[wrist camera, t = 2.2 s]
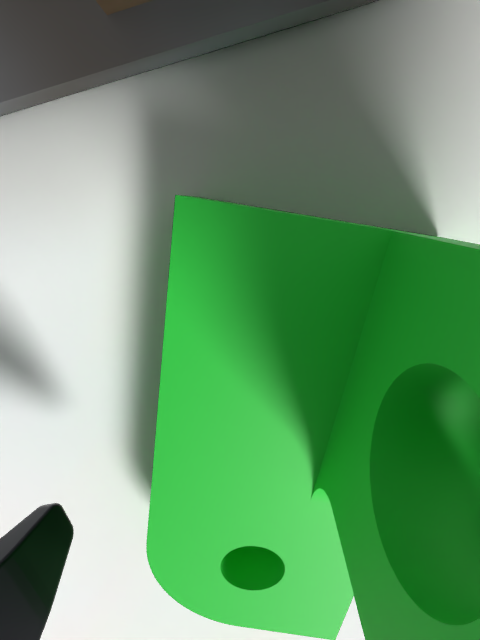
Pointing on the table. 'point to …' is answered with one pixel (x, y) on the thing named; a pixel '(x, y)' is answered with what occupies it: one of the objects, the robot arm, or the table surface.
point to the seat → (126, 38)
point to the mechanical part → (318, 425)
